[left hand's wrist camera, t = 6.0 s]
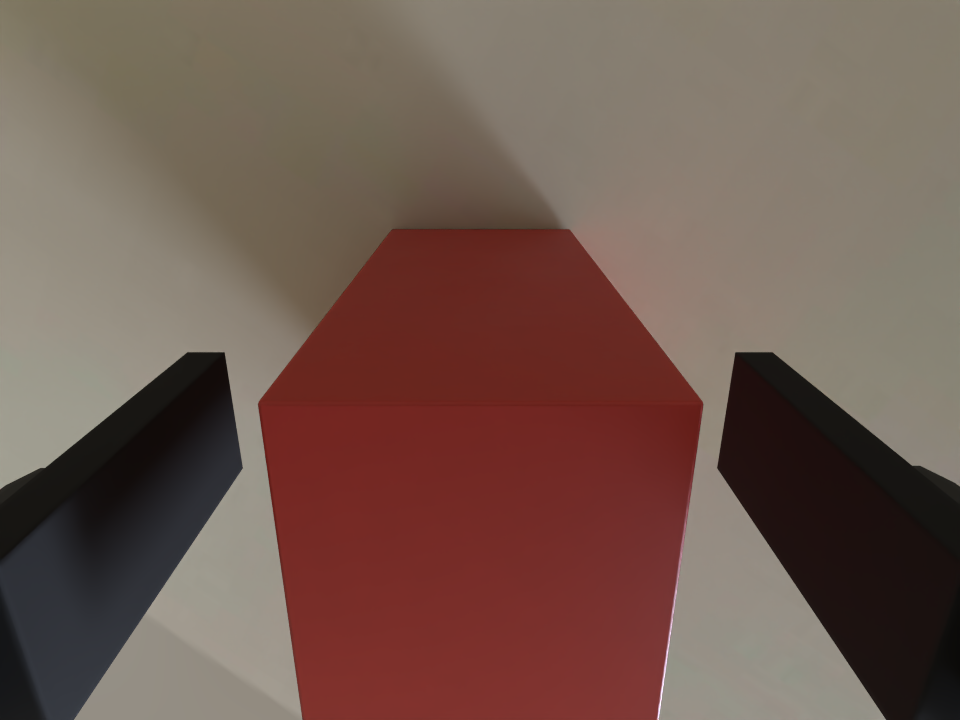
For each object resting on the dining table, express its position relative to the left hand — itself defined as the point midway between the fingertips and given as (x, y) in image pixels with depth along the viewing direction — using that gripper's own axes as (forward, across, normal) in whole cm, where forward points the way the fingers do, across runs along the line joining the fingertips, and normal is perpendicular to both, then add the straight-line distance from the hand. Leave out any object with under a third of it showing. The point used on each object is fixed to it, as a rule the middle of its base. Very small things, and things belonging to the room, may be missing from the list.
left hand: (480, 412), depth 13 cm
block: (+5, 0, 0) cm, 5 cm away
